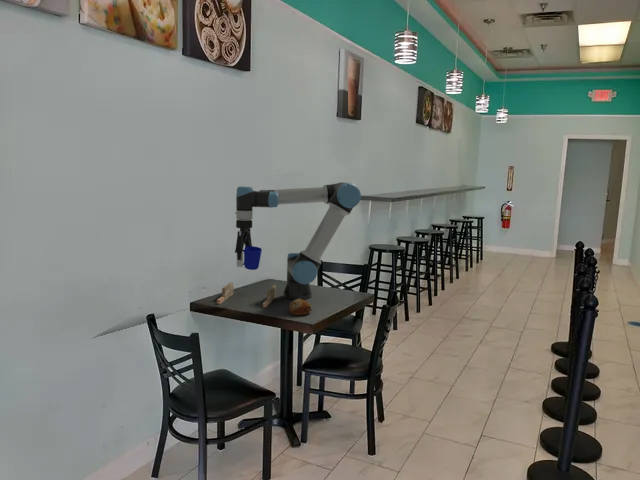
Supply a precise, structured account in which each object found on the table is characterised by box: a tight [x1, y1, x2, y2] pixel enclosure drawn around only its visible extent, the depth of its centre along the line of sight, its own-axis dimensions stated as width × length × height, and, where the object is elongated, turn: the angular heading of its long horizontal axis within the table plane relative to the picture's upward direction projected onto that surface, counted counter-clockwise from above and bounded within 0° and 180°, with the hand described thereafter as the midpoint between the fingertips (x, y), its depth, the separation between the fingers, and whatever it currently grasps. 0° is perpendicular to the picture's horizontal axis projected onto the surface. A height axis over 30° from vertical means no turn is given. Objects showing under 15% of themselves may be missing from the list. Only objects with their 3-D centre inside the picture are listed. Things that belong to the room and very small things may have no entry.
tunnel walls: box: [221, 282, 277, 304], centre depth 260 cm, size 24×14×6 cm, turn 83°
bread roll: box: [288, 299, 313, 316], centre depth 235 cm, size 10×10×8 cm
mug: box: [242, 245, 263, 271], centre depth 248 cm, size 8×12×10 cm
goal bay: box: [216, 296, 270, 308], centre depth 249 cm, size 24×7×2 cm, turn 83°
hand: (243, 264), depth 245 cm, fingers open, 13 cm apart
